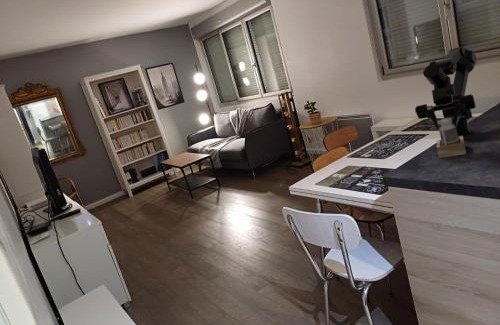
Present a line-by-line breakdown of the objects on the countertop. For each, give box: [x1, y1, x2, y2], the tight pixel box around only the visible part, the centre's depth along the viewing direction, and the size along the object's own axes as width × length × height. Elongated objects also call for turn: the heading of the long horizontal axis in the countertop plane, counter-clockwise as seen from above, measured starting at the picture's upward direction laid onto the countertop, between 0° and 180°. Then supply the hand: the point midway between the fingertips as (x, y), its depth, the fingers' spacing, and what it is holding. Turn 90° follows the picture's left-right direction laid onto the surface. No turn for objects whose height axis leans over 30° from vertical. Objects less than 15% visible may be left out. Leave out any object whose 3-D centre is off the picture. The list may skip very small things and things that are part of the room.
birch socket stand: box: [436, 135, 467, 159], centre depth 129 cm, size 8×8×4 cm
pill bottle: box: [438, 117, 459, 146], centre depth 128 cm, size 5×5×10 cm
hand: (446, 127), depth 127 cm, fingers closed on pill bottle, 5 cm apart
